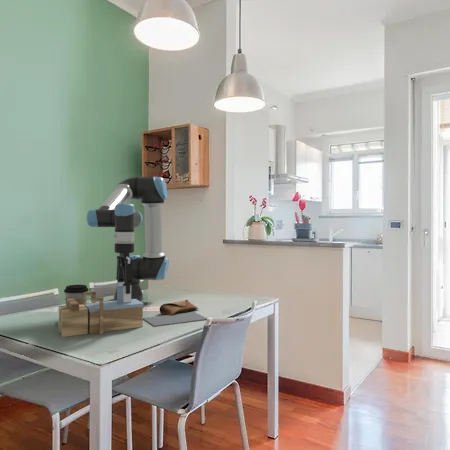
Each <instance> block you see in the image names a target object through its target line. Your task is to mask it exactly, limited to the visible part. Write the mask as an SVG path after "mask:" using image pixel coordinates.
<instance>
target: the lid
mask: <svg viewBox="0 0 450 450" xmlns="http://www.w3.org/2000/svg"><path fill="white" fill-rule="evenodd" d="M116 288H117V301H114V300H107V301H103V311H104V310H114V309H124V308H134V307H144V306H145V305H144V302H142V301H141V300H140V301H139V300H137V299H131V302H123V284H122V285H117V284H116ZM131 288H132V285H131ZM84 305H85V306H86V307H87V309H88V311H89V312H95V311H99V302H95V303H92V302H86V303H84Z"/></svg>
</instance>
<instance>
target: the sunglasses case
mask: <svg viewBox="0 0 450 450" xmlns="http://www.w3.org/2000/svg"><path fill="white" fill-rule="evenodd" d="M198 309H199V308H198V307H197V306H196V305H194V304H193V303H191V302H190V301H189V299H185V300H183V301H182V300H181V301H175V302H170V303H169V302H167V303H163V304H162V305H160V307H159V313H160V314H162V315H173V314H182V313H189V312H193V311H195V310H198Z"/></svg>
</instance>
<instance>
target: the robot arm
mask: <svg viewBox="0 0 450 450" xmlns="http://www.w3.org/2000/svg"><path fill="white" fill-rule="evenodd" d="M167 199H168V187H167V183H166V181H165V179H164V178H163V177H161V176H132V177H128V178H125V179H123V180H122V181H120V182H119V183H117V184H116V185H115V187H114V188H113V189H112V192H111V194H110V195H109V196H108V197H107V198H106V200H105V201H103V203H102V204H101V205H100V206H99V207H98V208H94V209H89V210H88V211H87V213H86V222H87V225H88V226H89V227H91V228H114V234H113V237H114V242H115V243H114V253H115V254H119V255H117V256H116V276H115V278H116V280H117V281H116V286H117V285H122V284H123V302H131V299H137V300H139V301H140V302H141V301H142V300H143V299H144V294H143V290H142V287H141V280H142V281H163V280H165V279H166V277H167V276H168V275H167V274H168V270H169V258H168V257H166V254H165V252H164V251H163V231H162V230H163V229H162V228H163V225H162V224H163V223H162V206H163V205H164V203H165V201H166V200H167ZM130 200H132V201H133V200H140V203H141V205H142V206H143V207H144V217H143V215H142V213H141V212H140V211H139V210H137V209H135V205H134V204H133V203H127V202H130ZM143 219H144V236H145V240H144V242H145V252H144V253H143V254H142V257H141V255H140V254H133V253H135V244H134V242H135V228H137V227H139V226H140V225H141V224H142V223H143ZM130 254H133V255H130ZM131 285H132V288H131ZM113 301H117V287H116V288H115V290H114V293H113Z"/></svg>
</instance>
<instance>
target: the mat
mask: <svg viewBox="0 0 450 450" xmlns="http://www.w3.org/2000/svg"><path fill="white" fill-rule="evenodd" d="M207 318H208V317H206V316H203V315H201V314H199V313H197V312H196V311H189V312H182V313H177V314H173V315H165V314H163V315H157V316H156V315H155V316H148V317H143V320H144V321H146V323H148V324H150V326H152V327H162V325H163V326H170V324H171V325H178V324H186V323H192V322H200V321H207Z"/></svg>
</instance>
